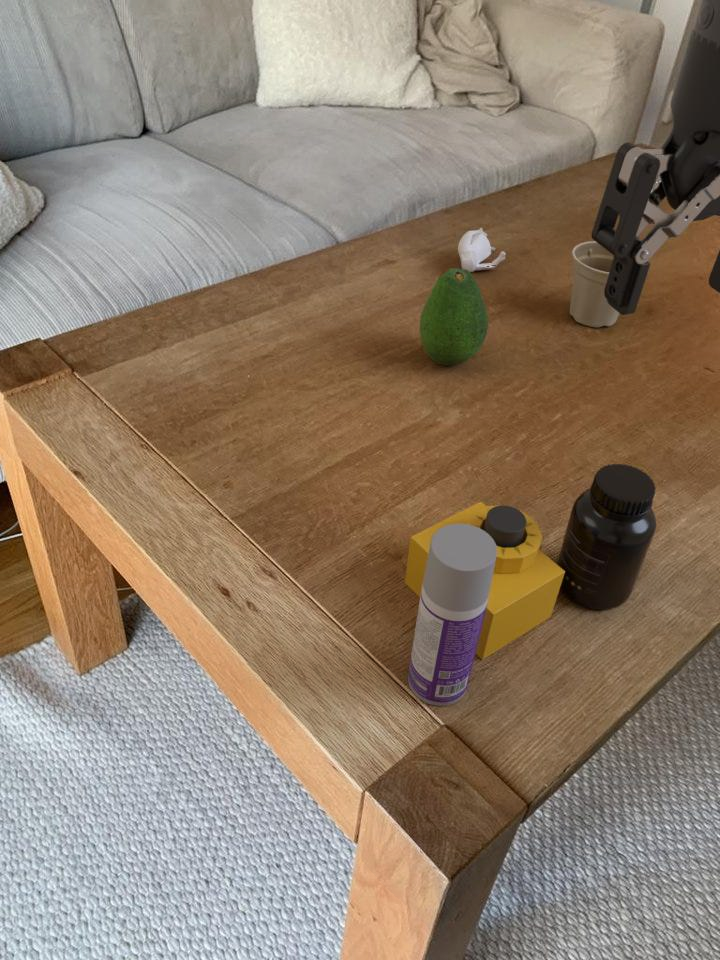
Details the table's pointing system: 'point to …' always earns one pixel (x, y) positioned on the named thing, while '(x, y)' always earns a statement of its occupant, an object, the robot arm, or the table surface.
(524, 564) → the yellow knob cube
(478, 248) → the figurine
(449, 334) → the fruit
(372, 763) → the table surface
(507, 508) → the dark grey push button
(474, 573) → the container
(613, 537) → the supplement bottle
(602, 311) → the flower pot
